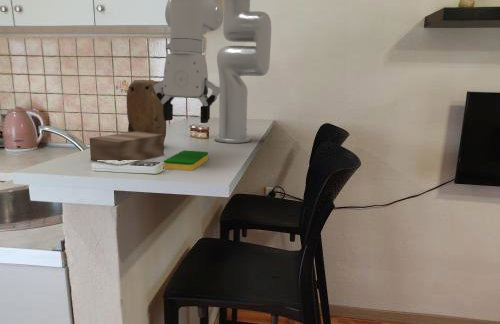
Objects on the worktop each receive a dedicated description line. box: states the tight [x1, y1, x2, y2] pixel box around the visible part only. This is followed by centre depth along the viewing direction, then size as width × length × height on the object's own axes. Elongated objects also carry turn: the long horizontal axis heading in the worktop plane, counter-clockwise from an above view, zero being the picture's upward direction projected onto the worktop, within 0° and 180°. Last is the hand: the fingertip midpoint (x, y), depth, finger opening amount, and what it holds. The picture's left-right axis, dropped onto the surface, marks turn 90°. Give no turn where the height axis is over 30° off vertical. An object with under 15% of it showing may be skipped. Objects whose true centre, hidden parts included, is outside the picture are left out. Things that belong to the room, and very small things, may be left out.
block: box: [126, 79, 167, 141], centre depth 114 cm, size 11×8×20 cm
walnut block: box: [89, 131, 165, 162], centre depth 101 cm, size 16×10×6 cm, turn 152°
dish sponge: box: [163, 149, 209, 172], centre depth 96 cm, size 7×14×2 cm, turn 170°
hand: (186, 121), depth 93 cm, fingers open, 9 cm apart
